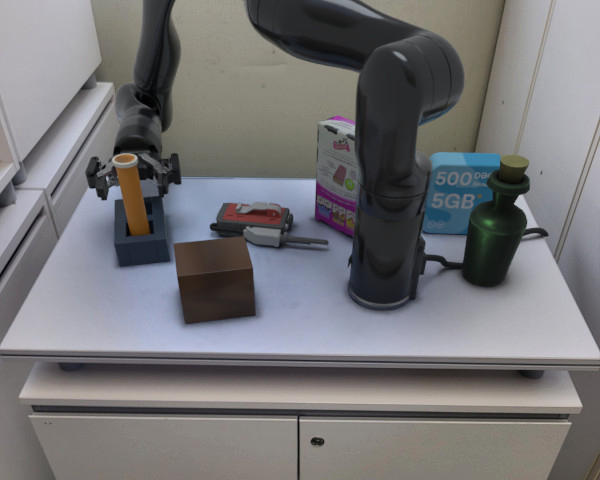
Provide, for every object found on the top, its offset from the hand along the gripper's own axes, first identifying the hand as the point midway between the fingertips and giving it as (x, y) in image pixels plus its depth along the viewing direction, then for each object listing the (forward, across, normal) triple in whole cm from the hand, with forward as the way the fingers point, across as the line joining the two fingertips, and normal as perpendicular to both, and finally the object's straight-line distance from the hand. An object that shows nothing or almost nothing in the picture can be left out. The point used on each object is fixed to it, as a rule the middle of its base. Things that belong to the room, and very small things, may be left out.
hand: (131, 193), depth 88 cm
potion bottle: (+13, +52, +10) cm, 55 cm away
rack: (-3, 0, +10) cm, 10 cm away
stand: (+15, +11, +10) cm, 21 cm away
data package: (-2, +52, +10) cm, 53 cm away
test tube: (0, 0, +10) cm, 10 cm away
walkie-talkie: (-3, +21, +10) cm, 23 cm away
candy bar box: (-4, +34, +10) cm, 36 cm away
